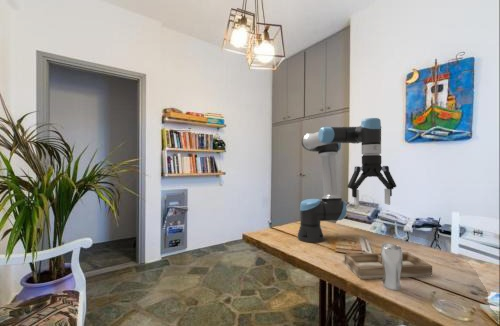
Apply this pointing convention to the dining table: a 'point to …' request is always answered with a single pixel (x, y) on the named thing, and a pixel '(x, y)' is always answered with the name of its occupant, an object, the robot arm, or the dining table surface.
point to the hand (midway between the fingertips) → (372, 204)
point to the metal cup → (391, 265)
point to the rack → (372, 267)
